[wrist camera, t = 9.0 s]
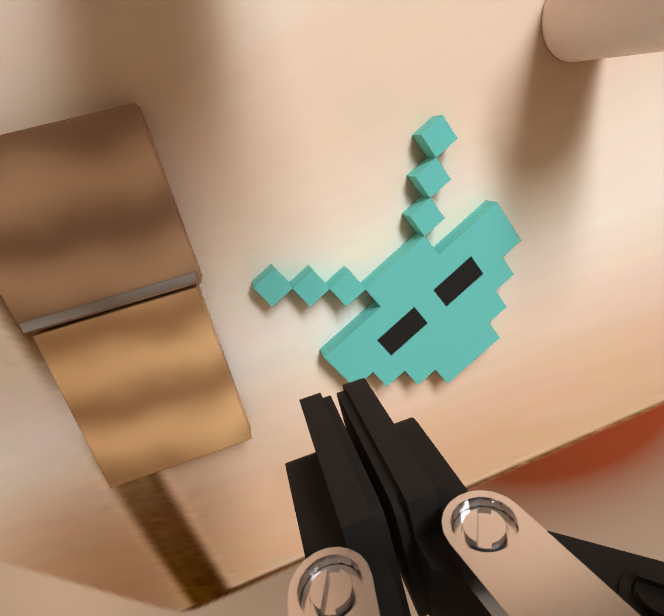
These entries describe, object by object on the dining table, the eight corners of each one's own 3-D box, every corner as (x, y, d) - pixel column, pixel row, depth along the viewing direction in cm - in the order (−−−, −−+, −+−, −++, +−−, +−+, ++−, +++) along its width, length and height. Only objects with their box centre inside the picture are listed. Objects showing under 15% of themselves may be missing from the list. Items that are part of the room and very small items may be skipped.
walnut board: (-60, 153, 29) (-82, 153, 27) (139, 106, 31) (134, 103, 29) (34, 324, 34) (22, 336, 32) (201, 275, 36) (200, 283, 34)
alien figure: (251, 280, 37) (388, 416, 45) (253, 288, 35) (396, 428, 43) (430, 116, 36) (537, 284, 44) (442, 114, 34) (552, 291, 42)
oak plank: (43, 327, 34) (32, 336, 32) (197, 282, 36) (195, 287, 34) (116, 473, 39) (110, 488, 37) (250, 426, 40) (251, 438, 38)
